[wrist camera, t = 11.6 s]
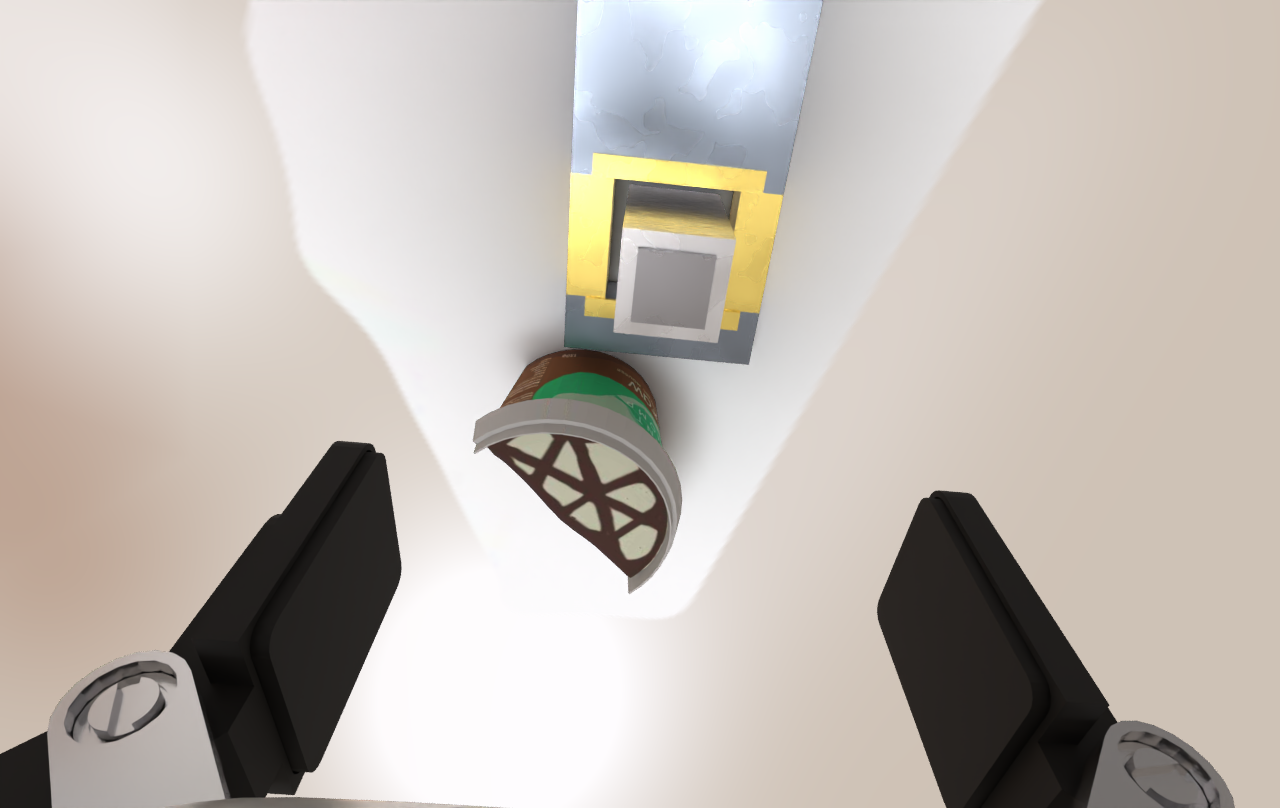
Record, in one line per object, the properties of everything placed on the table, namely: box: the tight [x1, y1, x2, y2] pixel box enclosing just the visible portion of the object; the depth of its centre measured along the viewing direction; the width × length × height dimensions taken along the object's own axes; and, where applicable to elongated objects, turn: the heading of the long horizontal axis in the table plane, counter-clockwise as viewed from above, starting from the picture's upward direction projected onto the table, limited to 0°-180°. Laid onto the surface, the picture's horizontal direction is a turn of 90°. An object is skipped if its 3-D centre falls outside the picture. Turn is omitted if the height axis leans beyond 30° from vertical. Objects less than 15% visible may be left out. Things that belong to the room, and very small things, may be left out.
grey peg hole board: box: [564, 0, 823, 365], centre depth 29 cm, size 28×10×3 cm, turn 174°
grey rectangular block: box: [613, 184, 736, 343], centre depth 30 cm, size 5×5×8 cm
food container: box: [473, 349, 682, 594], centre depth 35 cm, size 12×6×10 cm, turn 38°
